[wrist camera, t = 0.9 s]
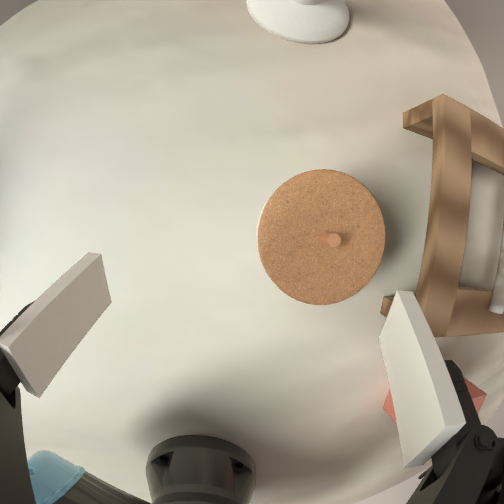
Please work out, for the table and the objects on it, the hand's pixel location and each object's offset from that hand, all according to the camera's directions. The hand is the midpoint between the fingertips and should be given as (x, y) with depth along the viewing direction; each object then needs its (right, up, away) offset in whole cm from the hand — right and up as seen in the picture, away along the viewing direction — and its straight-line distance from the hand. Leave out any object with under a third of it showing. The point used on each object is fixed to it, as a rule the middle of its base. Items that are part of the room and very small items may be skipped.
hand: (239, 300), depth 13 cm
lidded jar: (+6, +4, +18) cm, 19 cm away
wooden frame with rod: (+26, +6, +20) cm, 33 cm away
